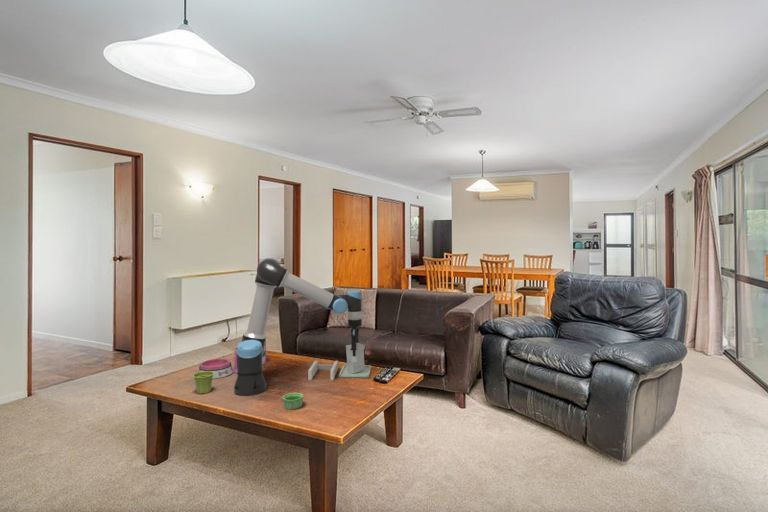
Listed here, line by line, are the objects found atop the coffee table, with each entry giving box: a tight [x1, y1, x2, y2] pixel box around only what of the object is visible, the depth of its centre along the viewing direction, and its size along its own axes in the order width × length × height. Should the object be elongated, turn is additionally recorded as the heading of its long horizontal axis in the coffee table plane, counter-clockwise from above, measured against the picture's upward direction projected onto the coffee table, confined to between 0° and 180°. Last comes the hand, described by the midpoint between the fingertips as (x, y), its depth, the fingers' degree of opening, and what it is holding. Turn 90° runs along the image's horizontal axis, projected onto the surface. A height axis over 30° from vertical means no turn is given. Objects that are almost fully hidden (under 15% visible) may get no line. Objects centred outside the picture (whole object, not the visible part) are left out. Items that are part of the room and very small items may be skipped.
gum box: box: [233, 340, 267, 374], centre depth 243 cm, size 24×8×14 cm, turn 168°
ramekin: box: [282, 392, 304, 410], centre depth 185 cm, size 9×9×4 cm
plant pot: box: [192, 371, 214, 395], centre depth 204 cm, size 9×9×9 cm
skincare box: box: [345, 342, 366, 374], centre depth 231 cm, size 8×6×15 cm
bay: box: [307, 360, 340, 381], centre depth 229 cm, size 20×13×5 cm
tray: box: [338, 364, 372, 379], centre depth 231 cm, size 18×16×2 cm
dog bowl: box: [197, 358, 234, 380], centre depth 231 cm, size 18×19×7 cm
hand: (355, 359), depth 231 cm, fingers closed on skincare box, 9 cm apart
